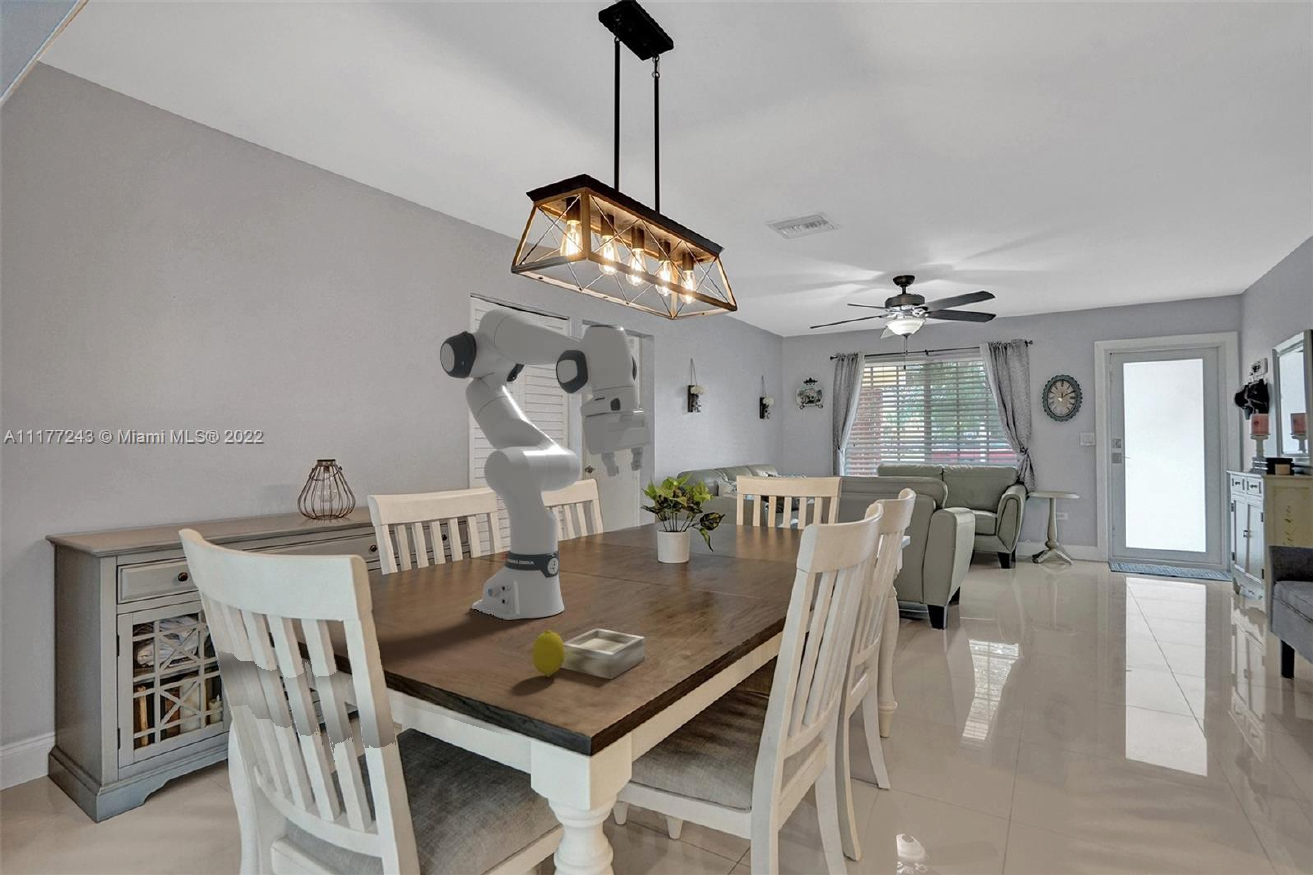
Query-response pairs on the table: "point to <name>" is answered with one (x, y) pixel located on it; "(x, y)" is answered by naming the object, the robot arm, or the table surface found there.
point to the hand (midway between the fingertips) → (625, 473)
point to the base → (603, 653)
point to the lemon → (548, 653)
